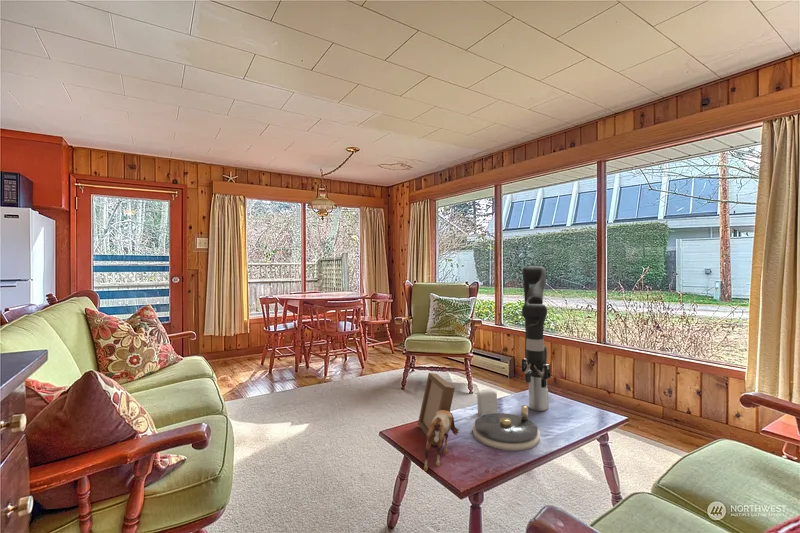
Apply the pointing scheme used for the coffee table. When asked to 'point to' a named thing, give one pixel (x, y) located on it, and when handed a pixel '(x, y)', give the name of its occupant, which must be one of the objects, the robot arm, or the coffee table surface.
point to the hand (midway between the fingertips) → (535, 384)
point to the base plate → (506, 445)
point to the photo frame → (435, 401)
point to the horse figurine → (439, 433)
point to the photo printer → (487, 401)
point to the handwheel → (507, 427)
